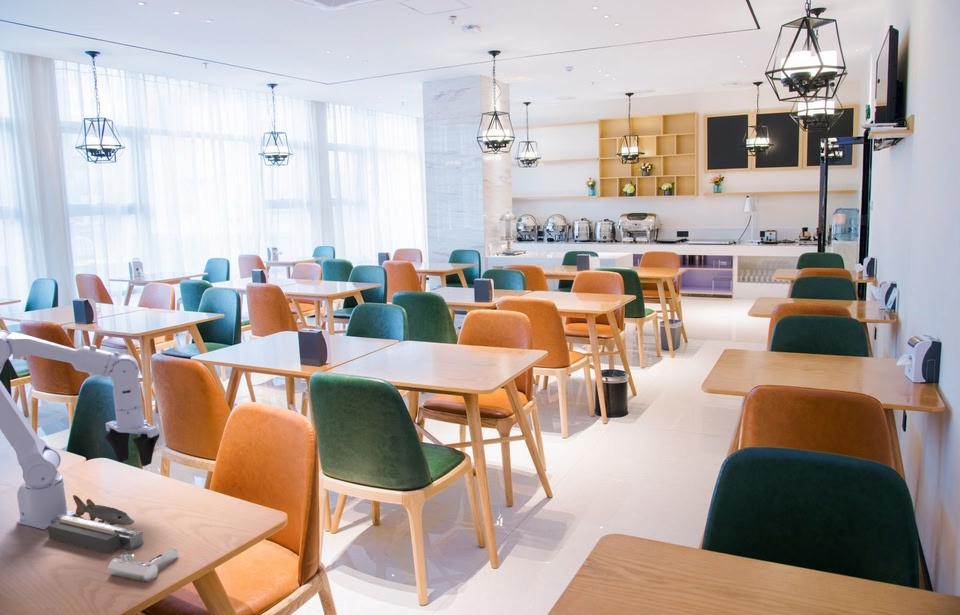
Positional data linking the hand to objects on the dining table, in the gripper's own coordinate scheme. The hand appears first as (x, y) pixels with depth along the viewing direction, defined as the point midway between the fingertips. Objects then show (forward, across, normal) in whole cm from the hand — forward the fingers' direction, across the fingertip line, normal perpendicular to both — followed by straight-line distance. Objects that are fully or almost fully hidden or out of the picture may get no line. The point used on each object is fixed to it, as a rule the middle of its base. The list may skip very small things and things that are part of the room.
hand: (135, 462), depth 164 cm
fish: (+10, -1, +11) cm, 15 cm away
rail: (+10, -6, +16) cm, 20 cm away
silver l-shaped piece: (+10, -27, +21) cm, 36 cm away
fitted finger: (+10, -6, +19) cm, 22 cm away
